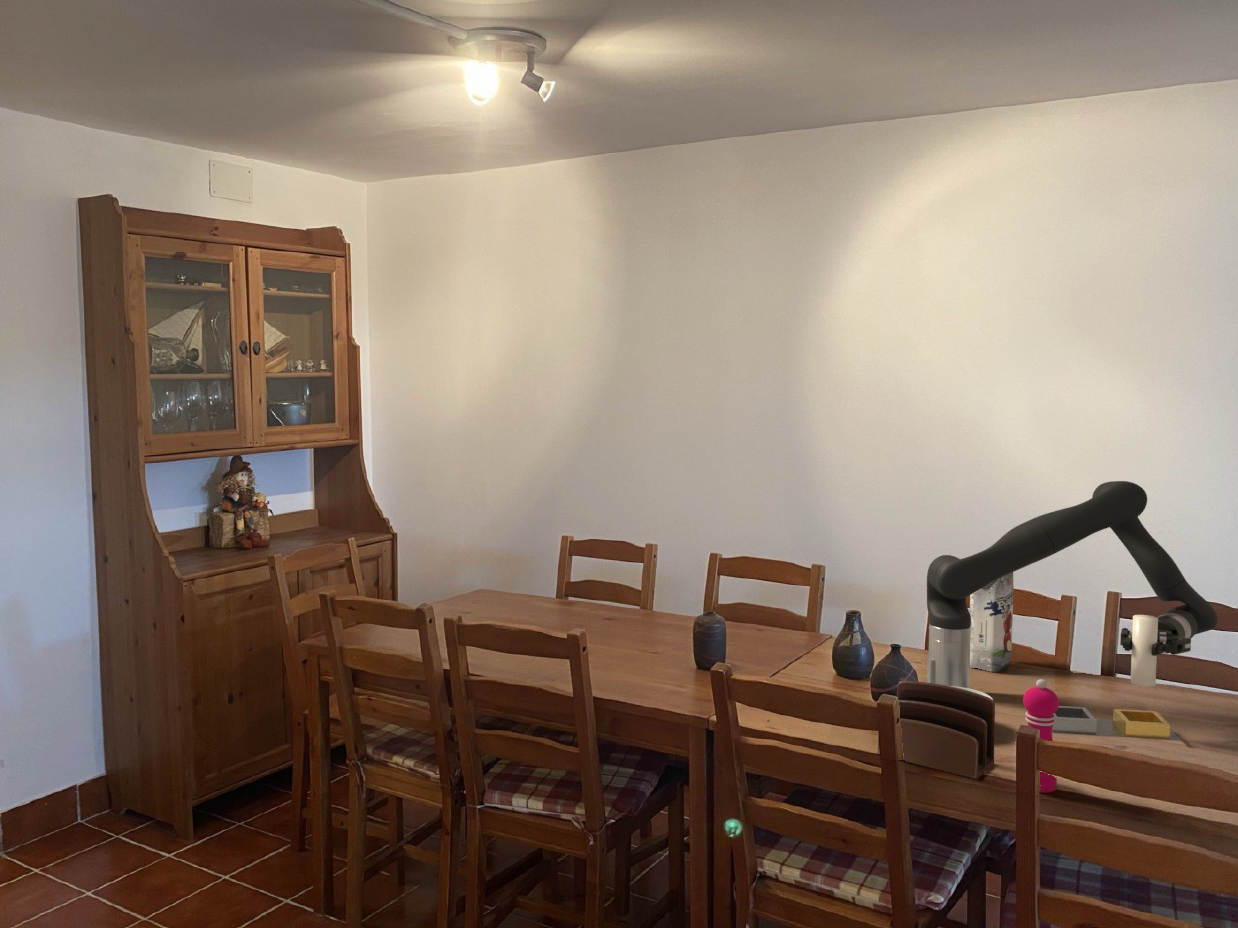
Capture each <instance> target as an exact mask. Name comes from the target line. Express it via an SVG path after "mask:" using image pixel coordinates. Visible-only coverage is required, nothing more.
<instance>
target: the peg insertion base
mask: <svg viewBox="0 0 1238 928" xmlns="http://www.w3.org/2000/svg"><path fill="white" fill-rule="evenodd" d="M1112 710H1113V711H1112V712H1113V713H1112V720H1111V719H1110V720H1108V719H1096V717H1094V716H1093V714H1092V713H1091V712H1090V711H1089V710H1088V709H1087V708H1086V707H1084V706H1083V707H1082V706H1067V705H1065V706H1064V705H1059V707H1058V710H1057V711H1056V712H1055V713H1054V715H1055V724H1053V725H1052V734H1054V733H1055V734H1066V735H1067V734H1068V735H1069V734H1070V735H1083V736H1084V735H1085V736H1098V737H1099V736H1100V737H1101V736H1102V737H1117V738H1118V737H1119V738H1133V739H1134V738H1135V739H1148V740H1149V739H1150V740H1151V739H1152V740H1166V741H1168V740H1169V741H1181V739H1180V738H1179V737H1178V736H1177V735H1176V734H1175V733H1174V731H1172V730H1171V724H1170V723H1169V722H1168V721H1167V720H1166V719H1165V718H1163V716H1162V715H1160V714H1159V713H1158V712H1157V711H1156V710H1155V711H1154V710H1139V709H1122V708H1121V709H1119V708H1113V709H1112Z"/></svg>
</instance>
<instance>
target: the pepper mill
mask: <svg viewBox="0 0 1238 928" xmlns="http://www.w3.org/2000/svg"><path fill="white" fill-rule="evenodd" d="M1035 685H1036V686H1033V687H1030V688H1028V689H1027V690H1026V691H1025V693H1024V695H1023V699H1022V704H1023V706H1024V708H1025V709H1026V711H1025V719H1024V720H1025V721H1026V722H1027V728H1028V727H1032V728H1036V729H1039V730H1040V738H1041V739H1043V740H1047V741H1053V742H1054V739H1053V733H1052V725H1053V724H1055V715H1054V713H1055V712H1056V711H1057V710H1058V707H1059V706H1060V704H1059V703H1060V702H1059V698H1058V695H1057V693H1055V692H1054V691H1053V690H1052V689H1050V688H1048V687H1047V686H1048V684H1047V681H1046V680H1044V679H1043V678H1042V679H1041V678H1039V679H1037V680H1036V683H1035ZM1055 777H1056V776H1055ZM1055 777H1054V776H1052V775H1048V774H1047V773H1044V772H1040V785H1041V792H1040V793H1051V792H1054V791H1056V790H1057V786H1058V785H1057V784H1058V779H1057V777H1056V778H1055Z"/></svg>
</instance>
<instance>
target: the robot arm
mask: <svg viewBox="0 0 1238 928" xmlns="http://www.w3.org/2000/svg"><path fill="white" fill-rule="evenodd" d="M1147 505H1148V495H1147V493H1146V491H1145V489H1144V488H1143V487H1141V486H1140V485H1139V484H1137V483H1135V482H1133V481H1132V482H1131V481H1128V480H1114V481H1107V482H1103V483H1101V484H1099V485H1098V486H1097V487H1096V488H1095V490H1094V491H1093V493H1092V496H1091V498H1090V499H1087V500H1086V501H1084V502H1081V503H1079V504H1076V505H1074V506H1069V507H1066V508H1061V509H1056V510H1054V511H1050V512H1048V513H1043V514H1041V515H1039V516H1036V517H1034V518H1031V519H1029V520H1027V521H1025V522H1022V523H1020V524H1018V525H1016V526H1014V527H1013V528H1011V529H1010V530H1008V531H1007V532H1006V533H1005V534H1003V535H1002V536H1001V537H1000V538H999V539H998V540H997V541H996V542H994V544H992V545H990V546H989V547H988V548H986V549H984V550H982V551H979V552H977V553H975V554H972V555H969V556H967V557H964V558H959V557H956V556H954V555H951V554H943V555H940V556H937V557H936V558H935V559H934V560H933V561H932V562H931V563H930V564H929V566H928V569H927V574H926V609H927V612H928V616H929V617H928V620H929V622H928V624H929V625H928V652H927V653H926V683H934V684H940V685H946V686H955V687H963V688H969V689H970V671H971V667H970V637H971V615H970V610H969V609H968V603H967V597H970V595H971V594H973V593H974V592H976V591H978V590H979V589H981V588H983V587H984V586H986V585H988V584H989V583H991V582H993V581H995V580H996V579H998V578H1000V577H1002V576H1004V575H1007V574H1009V573H1012V572H1013V573H1014V572H1017V571H1018V570H1020V569H1023V568H1025V567H1028V566H1030V565H1032V564H1034V563H1038V562H1039V561H1042V560H1045V559H1047V558H1048V557H1051V556H1053V555H1055V554H1057V553H1059V552H1061V551H1063V550H1065V549H1066V548H1069V547H1071V546H1074V544H1076V543H1079V542H1080V541H1082V540H1084V539H1086V538H1088V537H1089V536H1091V535H1094V534H1095V533H1098V532H1102V531H1103V530H1106V529H1109V528H1110V529H1111V530H1112V531H1113V533H1114V534H1115V535H1116V537H1117V538H1118V539H1119V541H1120V542H1121V543H1122V544H1123V546H1124V548H1126V551H1128V552H1129V554H1130V555H1131V557H1132V558H1133V560H1134V561H1135V563H1136V564H1137V566H1138V567H1139V568H1140V571H1141V573H1142V574H1143V576H1144V577H1145V579H1146V580H1147V582H1148V584H1149V585H1150V587H1151V588H1152V591H1153V592H1154V594H1155V595H1156V597H1157V598H1158V600H1161V601H1162V602H1181V603H1183V604H1182V605H1178V606H1176V607H1171V608H1169V609H1167V610H1166V611H1164V612H1163V614H1161V615H1158V616H1157V618H1158V633H1157V643H1155V644H1153V645H1152V653H1151V654H1152V655H1153V656H1157V657H1158V655H1162V654H1163V655H1164V654H1170V655H1172V656H1175V655H1178V654H1184V653H1188V652H1191V649H1192V648H1191V647H1192V638H1193V637H1194V636H1195V635H1199V634H1201V633H1205V632H1208V631H1212V630H1214V629H1215V628H1217V625H1218V623H1219V617H1218V614H1217V612H1216V610H1215V609H1214V607H1213V606H1212V605H1211V603H1209V602H1208V601H1207V600H1206V599H1205V598H1204V597H1202V595H1200V593H1198V592H1197V591H1196V590H1195V589H1194V588H1193V586H1191V585H1190V583H1189V582H1188V581H1187V579H1186V578H1185V577H1184V575H1183V573H1182V571H1181V570H1180V568H1179V567H1178V565H1177V563H1176V562H1175V560H1174V559H1173V558H1172V556H1171V555H1170V554H1169V553H1168V552H1167V551H1166V549H1165V548H1163V546H1162V545H1160V544H1159V543H1158V541H1157V540H1156V539H1154V538H1153V536H1152V535H1151V534H1150V532H1149V531H1148V530H1147V528H1145V526H1144V525H1143V523H1142V521H1141V520H1140V518H1139V516H1141V515H1142V514H1143V512H1144V511H1145V509H1146V507H1147ZM1120 631H1121V632H1120V639H1119V640H1120V642H1119V644H1120V646H1122V648H1123V649H1124V651H1126V652H1130V651H1132V632H1131V629H1129V628H1126V627H1122V628H1121V630H1120Z"/></svg>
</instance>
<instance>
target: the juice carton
mask: <svg viewBox="0 0 1238 928" xmlns="http://www.w3.org/2000/svg"><path fill="white" fill-rule="evenodd" d="M969 613H970V615H971V637H970V668H971V667H973V668H972V669H974V668H978V669H977V670H979V669H982V670H981V671H985V670H986V671H985V672H989V673H990V672H992V673H999V672H1000V671H1002V670H1003V669H1006V668H1007V667H1008V666H1009V665H1010V662H1011V657H1012V643H1013V620H1014V619H1013V617H1014V616H1013V615H1014V572H1012V573H1009V574H1007V575H1004V576H1002V577H1000V578H998V579H996V580H995V581H993V582H991V583H989V584H988V585H986V586H984V587H983V588H981V589H979V590H978V591H976V592H974V593H973V594H971V595H969Z"/></svg>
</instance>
